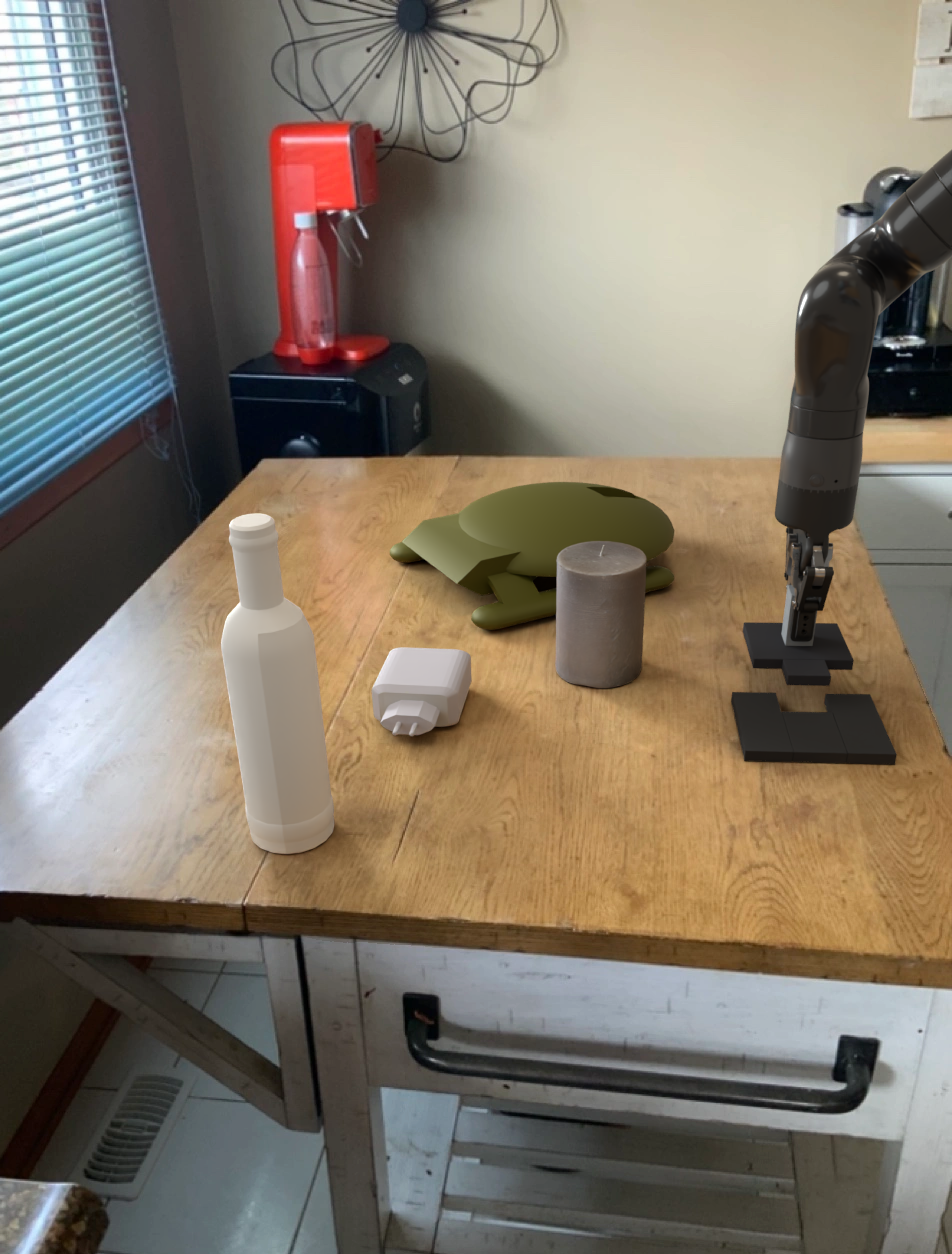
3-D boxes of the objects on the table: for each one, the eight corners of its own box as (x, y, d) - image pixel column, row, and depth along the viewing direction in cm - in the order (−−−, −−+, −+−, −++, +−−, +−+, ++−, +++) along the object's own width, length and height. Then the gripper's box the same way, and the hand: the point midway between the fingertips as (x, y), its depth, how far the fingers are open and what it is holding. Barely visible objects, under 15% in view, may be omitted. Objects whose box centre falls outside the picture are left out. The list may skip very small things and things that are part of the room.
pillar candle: (616, 644, 134) (621, 523, 126) (657, 679, 125) (664, 553, 118) (540, 660, 131) (541, 537, 124) (577, 696, 123) (580, 568, 116)
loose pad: (835, 632, 124) (844, 573, 121) (859, 686, 114) (870, 623, 110) (742, 631, 126) (748, 573, 122) (757, 685, 115) (764, 622, 111)
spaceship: (483, 638, 137) (481, 563, 132) (384, 558, 161) (379, 491, 157) (719, 579, 148) (725, 508, 144) (593, 512, 173) (595, 449, 168)
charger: (360, 752, 115) (391, 683, 128) (449, 758, 113) (471, 687, 126) (356, 712, 113) (388, 646, 126) (447, 717, 111) (470, 649, 124)
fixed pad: (868, 703, 118) (870, 693, 118) (895, 764, 108) (897, 754, 107) (731, 701, 120) (732, 691, 120) (744, 761, 110) (745, 750, 109)
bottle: (333, 801, 108) (300, 499, 93) (338, 850, 101) (303, 532, 86) (249, 811, 107) (202, 508, 92) (249, 860, 100) (198, 542, 85)
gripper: (873, 498, 105) (847, 663, 114) (844, 454, 117) (822, 606, 126) (790, 498, 106) (770, 662, 115) (769, 454, 118) (753, 605, 127)
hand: (797, 632), depth 120 cm, fingers closed on loose pad, 3 cm apart
